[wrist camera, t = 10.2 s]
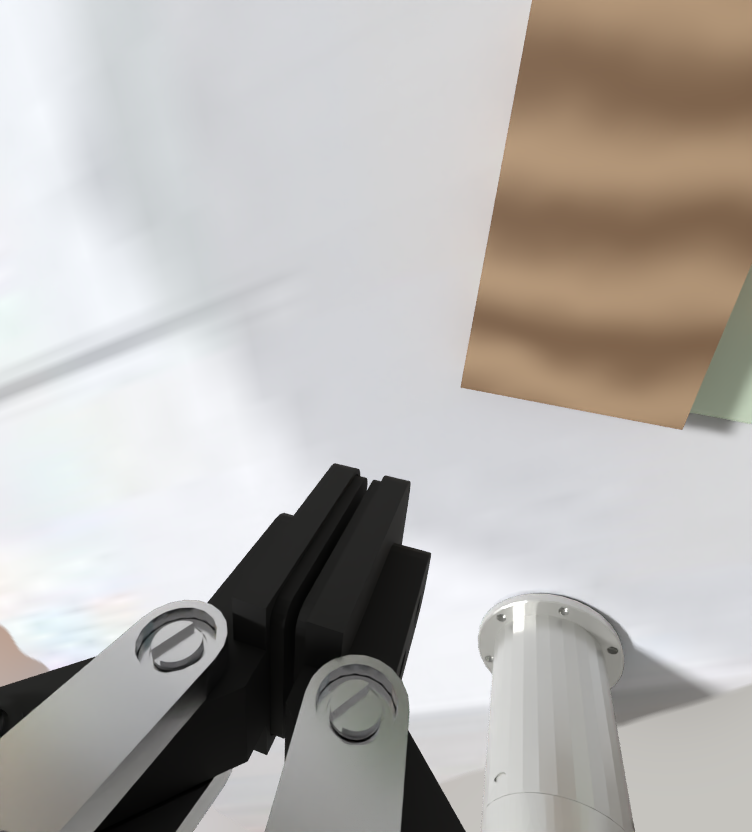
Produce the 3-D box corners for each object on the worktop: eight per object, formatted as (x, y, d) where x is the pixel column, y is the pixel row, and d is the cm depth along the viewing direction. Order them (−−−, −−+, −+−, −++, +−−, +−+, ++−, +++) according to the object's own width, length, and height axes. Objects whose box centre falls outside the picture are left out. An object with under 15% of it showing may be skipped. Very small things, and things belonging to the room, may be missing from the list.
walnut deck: (665, 406, 33) (682, 429, 30) (467, 370, 36) (460, 387, 33) (822, 9, 24) (873, -26, 20) (535, 5, 27) (536, -26, 23)
